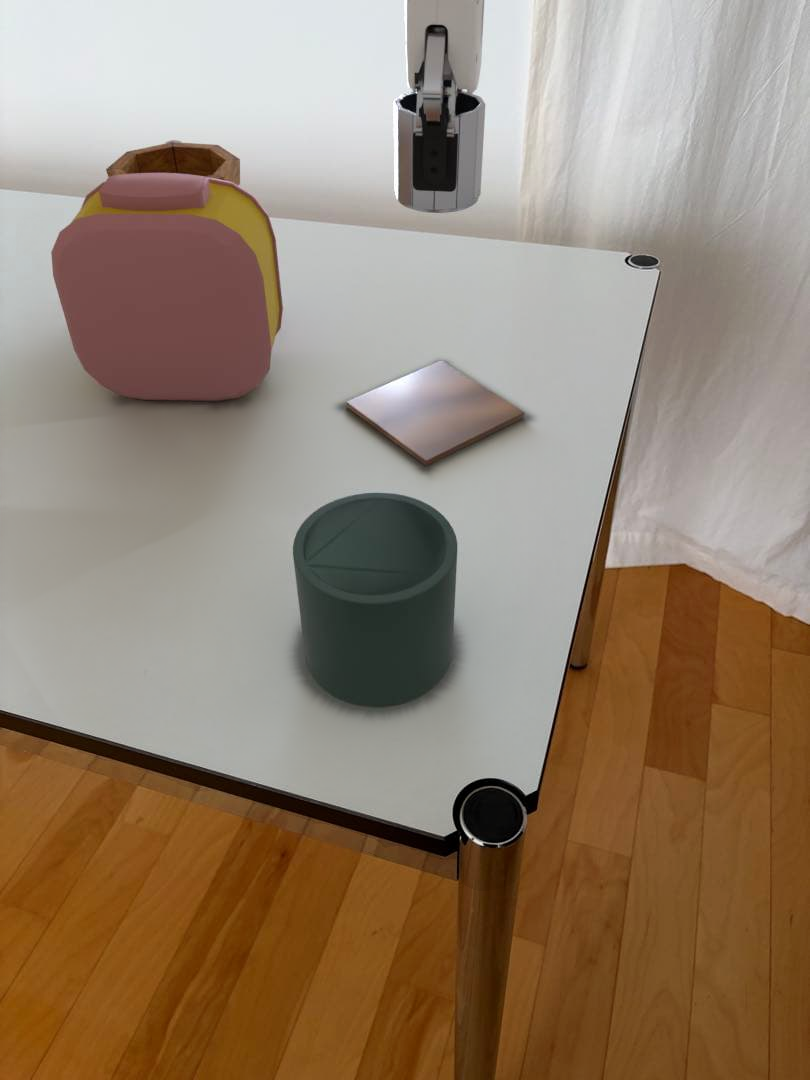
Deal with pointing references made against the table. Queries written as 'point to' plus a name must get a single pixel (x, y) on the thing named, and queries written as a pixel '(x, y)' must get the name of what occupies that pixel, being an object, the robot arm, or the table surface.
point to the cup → (468, 157)
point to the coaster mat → (434, 411)
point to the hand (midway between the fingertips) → (438, 168)
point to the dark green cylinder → (376, 597)
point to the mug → (180, 161)
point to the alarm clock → (170, 287)
